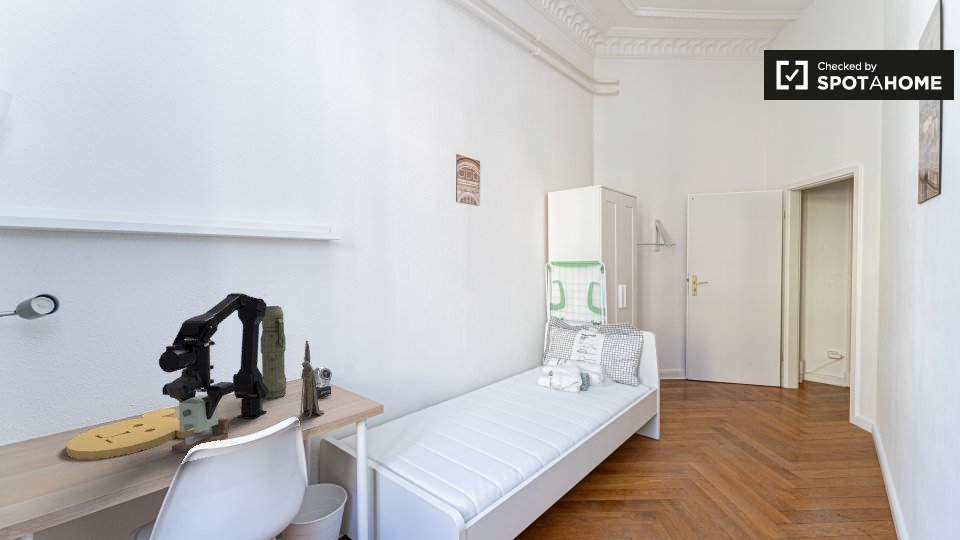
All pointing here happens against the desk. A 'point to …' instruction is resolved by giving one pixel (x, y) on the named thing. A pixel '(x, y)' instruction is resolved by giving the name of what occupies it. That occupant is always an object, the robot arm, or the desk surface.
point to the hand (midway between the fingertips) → (199, 418)
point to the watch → (326, 378)
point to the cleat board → (216, 436)
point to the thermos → (273, 352)
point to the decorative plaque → (127, 436)
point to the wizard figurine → (309, 387)
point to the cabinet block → (195, 415)
